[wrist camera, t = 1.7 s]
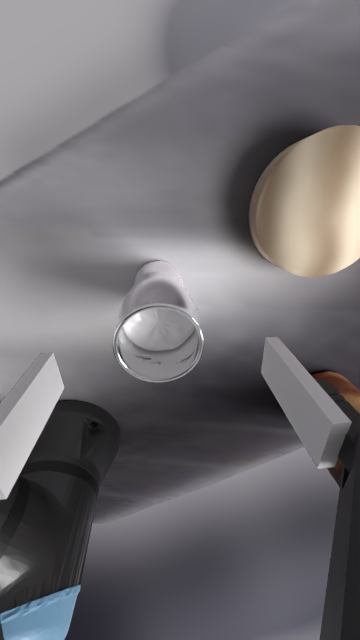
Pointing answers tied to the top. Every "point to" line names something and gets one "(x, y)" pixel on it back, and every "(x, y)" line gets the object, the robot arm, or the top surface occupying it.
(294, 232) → the beige round disc
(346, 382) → the wafer roll
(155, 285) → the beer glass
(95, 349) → the top surface
